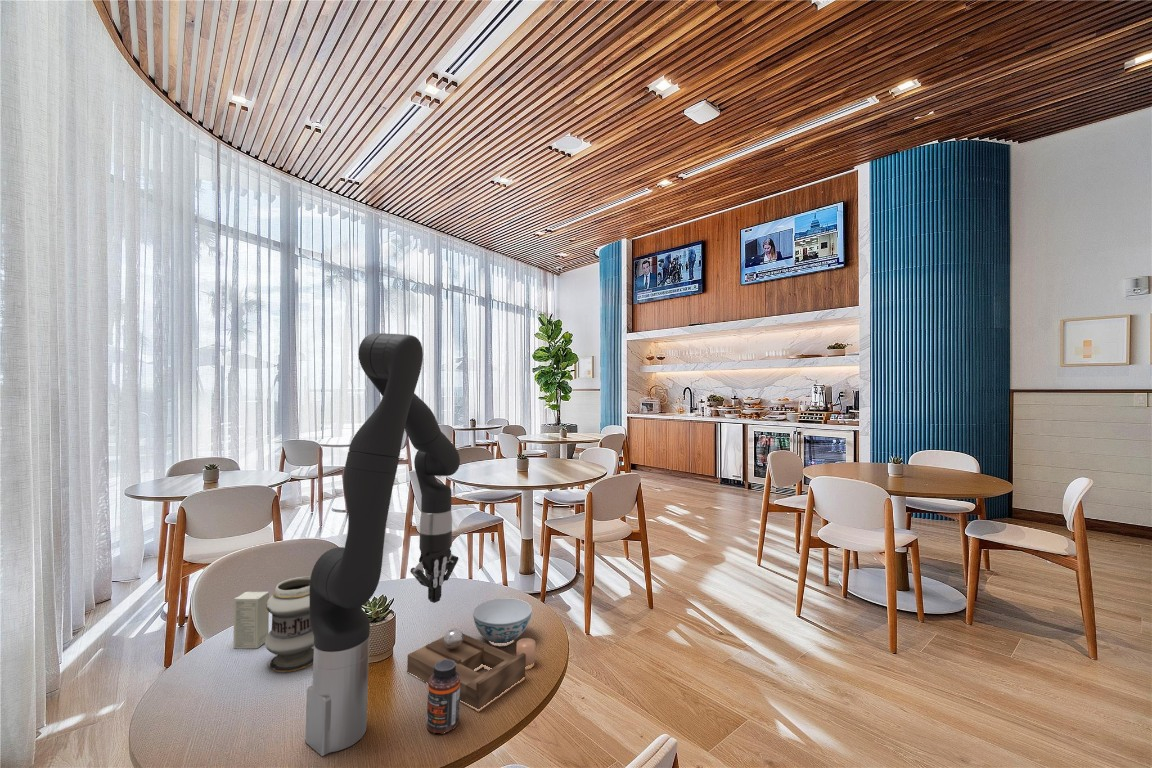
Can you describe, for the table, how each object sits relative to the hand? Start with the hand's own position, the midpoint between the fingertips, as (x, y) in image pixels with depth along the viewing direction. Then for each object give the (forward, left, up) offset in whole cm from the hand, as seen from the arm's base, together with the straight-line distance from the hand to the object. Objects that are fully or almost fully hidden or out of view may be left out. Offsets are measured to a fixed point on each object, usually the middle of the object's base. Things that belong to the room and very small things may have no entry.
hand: (434, 601), depth 115 cm
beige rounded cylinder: (+10, -20, -13) cm, 26 cm away
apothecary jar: (-21, +24, -13) cm, 34 cm away
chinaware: (+15, -8, -13) cm, 22 cm away
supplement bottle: (-15, -21, -13) cm, 29 cm away
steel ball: (0, -7, -7) cm, 10 cm away
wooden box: (-1, -12, -13) cm, 18 cm away
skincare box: (-24, +40, -13) cm, 48 cm away
